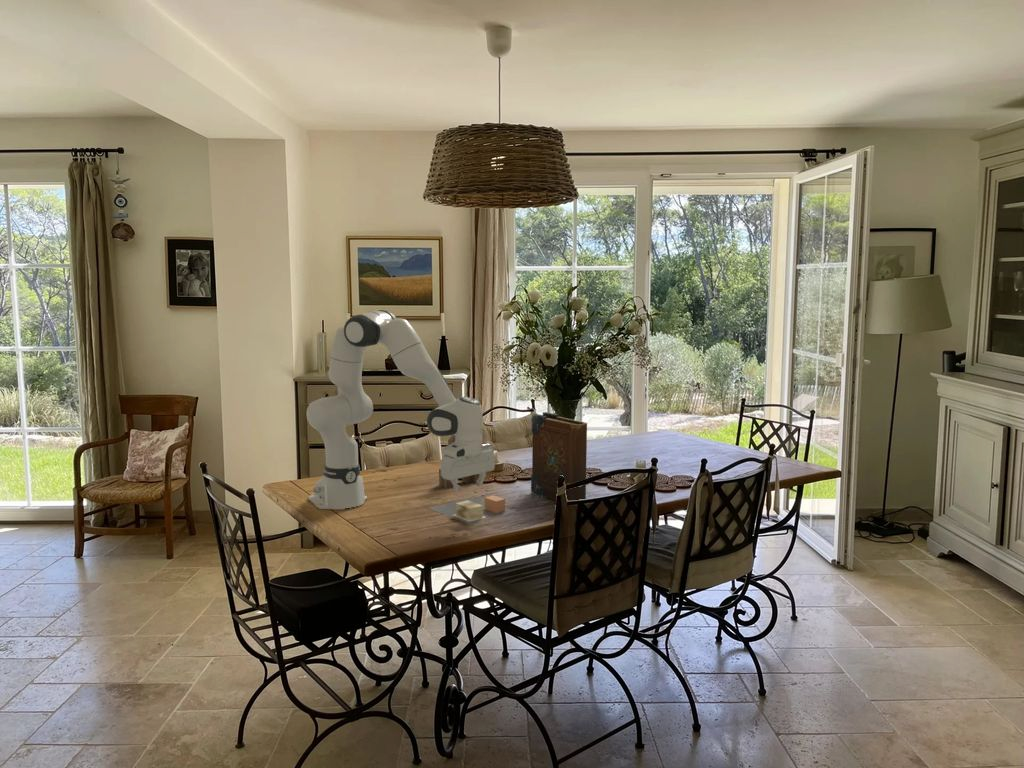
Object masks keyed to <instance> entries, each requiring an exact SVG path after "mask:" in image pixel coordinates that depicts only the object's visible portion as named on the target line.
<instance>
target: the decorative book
mask: <svg viewBox="0 0 1024 768" xmlns="http://www.w3.org/2000/svg"><path fill="white" fill-rule="evenodd" d="M530 426H531V427H530V428H531V432H530V433H531V434H532V445H531V446H532V449H531V450H532V452H531V454H532V457H531V458H532V459H531V463H532V465H531V467H532V468H531V472H532V473H531V475H530V494H531V495H535V496H538V497H540V496H541V497H540V498H543V497H544V498H548V499H551V500H554V501H556V500H555V499H556V494H557V478H558V477H559V476H560V475H563V476H564V479H565V483H566V484H567V483H573V482H577V481H581V480H584V479H586V480H587V456H588V455H587V450H588V449H587V447H588V446H587V444H588V441H587V439H588V422H586V421H585V422H584V421H580V420H576V419H572V418H566V417H562V416H559V414H556V413H552V412H548V411H545V412H542V414H539V413H532V414H531V425H530ZM586 494H587V484H586V485H583V486H581V487H576V488H572V489H567V490H566V495H567V499H568V500H579V499H587V498H586Z"/></svg>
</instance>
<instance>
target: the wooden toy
mask: <svg viewBox="0 0 1024 768" xmlns="http://www.w3.org/2000/svg"><path fill="white" fill-rule="evenodd" d="M454 441H455V435H450V437H449V438H448V440H447V442H448V443H447V446H448V445H450V444H451V443H453V442H454ZM438 475H439V476H438V482H439V486H441V487H442V488H445V489H446V490H447V489H454V485H453V484H452V482H451V480H446V479H444V478H442V476H441V468H439V469H438ZM479 476H480V475H479V474H476V475H471V476H466V477H462V478H461V480H462V482H463V483H465V484H469V483H473V484H476V480H478V478H479Z"/></svg>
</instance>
